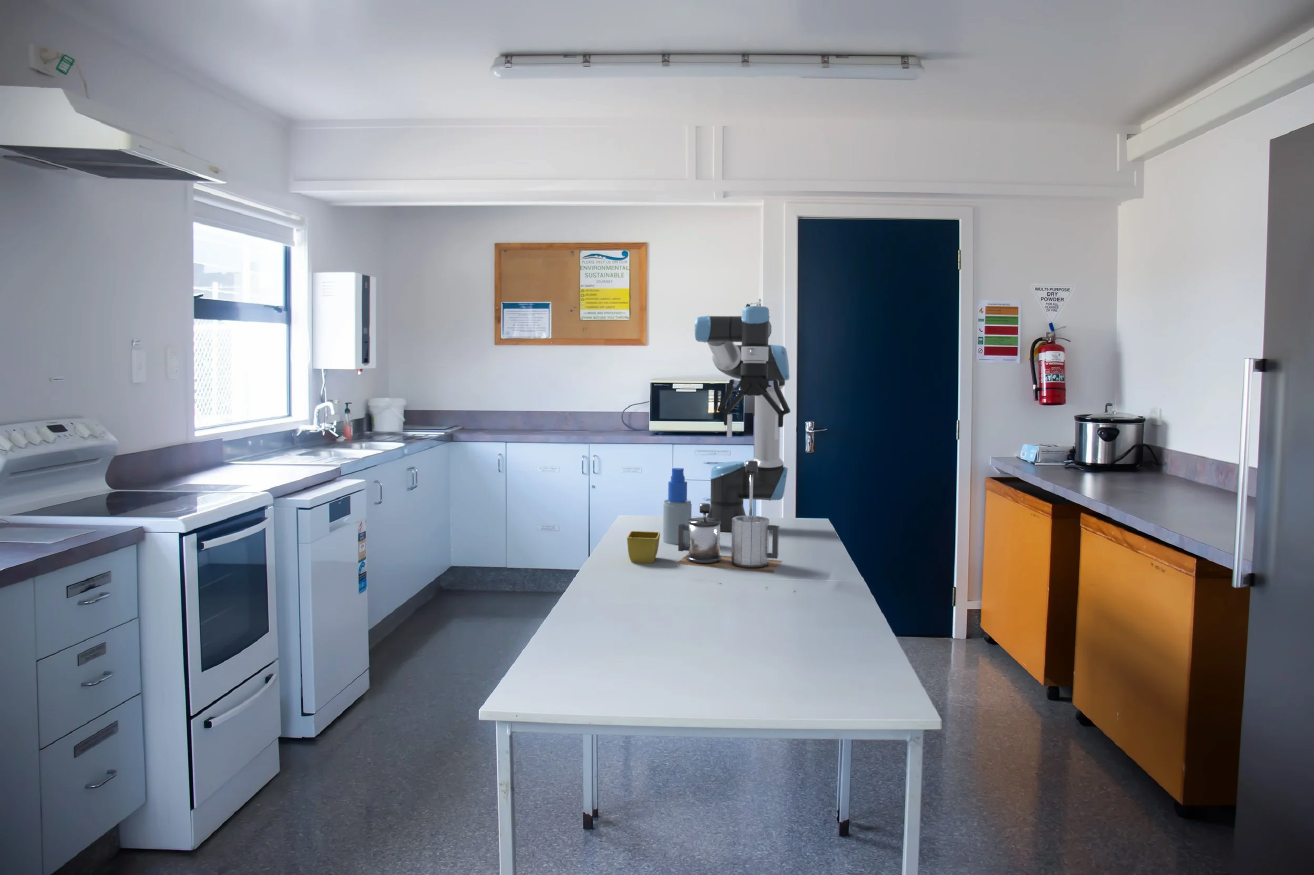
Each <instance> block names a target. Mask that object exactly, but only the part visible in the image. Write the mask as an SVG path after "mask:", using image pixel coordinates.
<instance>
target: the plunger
mask: <svg viewBox="0 0 1314 875" xmlns="http://www.w3.org/2000/svg"><path fill="white" fill-rule="evenodd" d="M745 466H746V472H748V473H750V499H748V502H749V503H748V504H749V505H748V506H749V508H748V509H749V510H748V512H749V513H748V516H749V522H752V516H753V506H754V504H753V503H754V502H753V501H754V499H753V473H757V472H758V461H751V460H745Z"/></svg>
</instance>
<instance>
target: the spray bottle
mask: <svg viewBox="0 0 1314 875" xmlns="http://www.w3.org/2000/svg"><path fill="white" fill-rule="evenodd" d="M685 480H686V478H685V473H684V467H673V468H671V476H670V481H668V484H667V485H668V487H667V491H668V492H667V499H665V500H663V507H662V508H663V516H662V517H663V519H662V520H663V523H662V524H663V525H662V527H663V528H662V529H663V530H662V532H663V533H662V534H663V535H662V536H663V537H662V538H663V539H662V541H663V543H664V544H668V545H677V546H678V529H679V525H680V524H685V525H686V526H689V523H688V520H689V519H691V518H692V501H691V500H689V499H688V481H685ZM685 545H689V531H687V530H685Z"/></svg>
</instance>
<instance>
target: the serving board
mask: <svg viewBox="0 0 1314 875" xmlns="http://www.w3.org/2000/svg"><path fill="white" fill-rule="evenodd" d="M687 555H689V552H688V553H687V554H686V555H684V556H683V557H682V558H680V560H678V561H677V562H675V564H676V565H683V566H694V567H705V568H716V569H717V568H718V569H727V570H737V571H749V572H759V573H770V574H774V572H775V571H776V570H777V568H778V567H779V566H780V564H781V563H782V562H783V560H777V559H769V561H768V566H767V567H764V568H759V569H746V568H739V567H735V566H733V565H732V560H731V555H723V554H722V555H721V554H720V556H721V562H719V563H715V564H695V563H691V562H689V561H687Z"/></svg>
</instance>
